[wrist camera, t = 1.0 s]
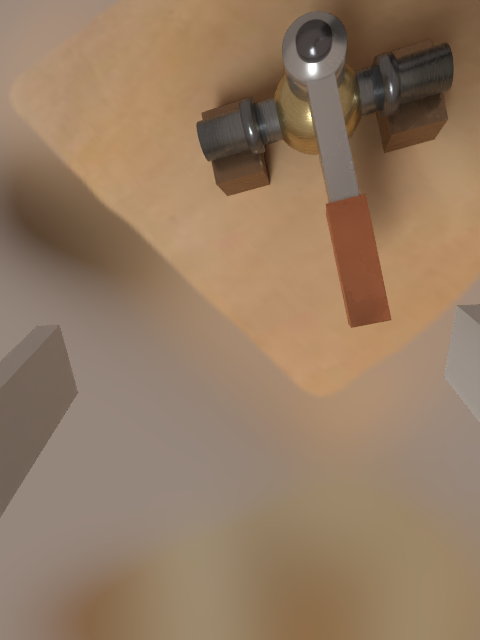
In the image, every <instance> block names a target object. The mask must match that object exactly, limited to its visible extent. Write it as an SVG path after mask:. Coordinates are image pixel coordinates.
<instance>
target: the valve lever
mask: <svg viewBox="0 0 480 640" xmlns="http://www.w3.org/2000/svg"><path fill="white" fill-rule="evenodd" d="M346 50H347V34H346V30H345V28H344V26H343V24H342V22H341V21H340V20H339V19H338V18H337V17H335V16H334V15H332V14H330V13H327V12H322V11H316V12H310V13H307V14H305V15H303V16H301V17H299V18H298V19H297V20H295V21H294V22H293V23H292V25H291V26H290V27H289V29H288V30H287V32H286V34H285V36H284V39H283V44H282V54H283V60H284V66H285V71H286V77H287V82H288V86H289V88H290V90H291V92H292V93H293V94H294V95H295V96H296V97H297V98H298V99H300V100H302V101H305V102H308V104H309V109H310V114H311V119H312V124H313V129H314V134H315V138H316V143H317V148H318V153H319V158H320V163H321V168H322V172H323V177H324V182H325V187H326V192H327V197H328V202H329V203H327V204H326V217H327V221H328V226H329V231H330V236H331V241H332V246H333V251H334V256H335V260H336V265H337V270H338V275H339V280H340V285H341V290H342V294H343V299H344V304H345V309H346V314H347V319H348V324H349V325H350V326H351V328H352V327H357V326H363V325H368V324H373V323H378V322H384V321H389V320H391V316H390V311H389V306H388V301H387V296H386V291H385V286H384V281H383V276H382V272H381V267H380V262H379V257H378V252H377V247H376V242H375V237H374V232H373V228H372V223H371V218H370V213H369V208H368V203H367V198H366V194H362V195H360V194H359V190H358V185H357V180H356V175H355V170H354V165H353V160H352V155H351V150H350V146H349V141H348V136H347V131H346V126H345V121H344V116H343V111H342V106H341V102H340V97H339V92H338V89H339V87H340V86H341V84H342V81H343V79H344V74H345V63H346Z"/></svg>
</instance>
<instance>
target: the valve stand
mask: <svg viewBox="0 0 480 640" xmlns="http://www.w3.org/2000/svg"><path fill="white" fill-rule="evenodd" d="M452 81H453V57H452V52H451V49H450V47H449V45H448V44H447V43H442V44H439V45H436V46H433V42H432V38H431V39H428V40H425V41H422V42H419V43H416V44H413V45H409V46H406V47H403V48H400V49H397V50H394V51H391V52H388V53H385V54H381V55H378V56H375V58H374V62H373V66H370V67H367V68H364V69H361V70H358V71H354V70H353V69H352V68H351V66H350V65H348V64H347V63H345V74H344V79H343V81H342V84H341V86H340V87H339V89H338V92H339V97H340V102H341V106H342V111H343V116H344V121H345V126H346V131H347V136H348V139H349V137H350V136H351V135H352V134H353V132H354V131H355V129H356V127H357V125H358V123H359V121H360V118H361V116H365V115H368V114H371V113H375V112H376V114H377V119H378V124H379V129H380V134H381V139H382V144H383V149H384V153H386V152H390V151H393V150H397V149H401V148H404V147H408V146H412V145H415V144H419V143H423V142H426V141H430V140H434V139H435V137H436V136H437V134H438V133H439V131H440V130H441V129H442V127H443V126H444V124H445V123H446V121H447V120H448V116H447V111H446V106H445V101H444V96H443V92H446V91H448V90H449V89H450V88H451V85H452ZM202 118H203V120H201V121H198V122H197V133H198V137H199V141H200V145H201V148H202V151H203V153H204V155H205V157H206V159H207V161H212V166H213V171H214V175H215V180H216V184H217V185H218V186H219V188H220V189H221V190H222V191H223V192H224V193H225V194H226V195H227V196H229V195H233V194H237V193H240V192H244V191H248V190H251V189H255V188H259V187H262V186H266V185H269V184H270V182H269V178H268V173H267V168H266V163H265V158H264V152H265V145H267V144H270V143H273V142H277V141H280V140H284V141H285V142H286V143H287V144H288V145H289V146H290V147H292V148H293V149H294V150H297V151H299V152H301V153H304V154H311V155H317V154H319V153H318V148H317V143H316V138H315V134H314V129H313V124H312V119H311V114H310V109H309V104H308V102H305V101H302V100H300V99H298V98H297V97H296V96H295V95H294V94H293V93H292V92H291V90H290V88H289V86H288V82H287V77H286V73H285V74H284V75H283V77H282V78H281V80H280V82H279V84H278V86H277V89H276V91H275V95H274V97H273V98H270V99H267V100H264V101H261V102H258V103H254V100H253V97H249V98H246V99H243V100H239V101H237V102H233V103H230V104H227V105H224V106H221V107H218V108H215V109H212V110H209V111H206V112H203V113H202Z"/></svg>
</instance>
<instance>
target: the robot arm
mask: <svg viewBox="0 0 480 640" xmlns="http://www.w3.org/2000/svg"><path fill="white" fill-rule="evenodd" d="M444 378H445V379H446V380H447V381H448V383H449V384H450V385H451V387H452V388H453V389H454V390H455V392H456V393H457V394H458V395H459V397H460V398H461V399H462V401H463V402H464V403H465V404H466V406H467V407H468V408H469V409H470V411H471V412H472V413H473V414H474V416H475V417H476V418H477V419H478V421H479V422H480V304H478V305H457V308H456V314H455V319H454V325H453V330H452V336H451V341H450V347H449V353H448V358H447V364H446V369H445V375H444ZM77 394H78V391H77V387H76V383H75V380H74V376H73V373H72V369H71V365H70V361H69V358H68V354H67V350H66V347H65V343H64V340H63V336H62V332H61V328H60V325H46V326H37V327H36V328H35V329H34V330H32V331H31V332H30V333H29V334H28V335H27V336H26V337H25V338H24V339H23V340H22V341H21V342H20V343H19V344H18V345H17V346H16V347H15V348H14V349H13V350H12V351H11V352H10V353H9V354H8V355H7V356H6V357H5V358H3V359H2V360H1V361H0V517H1V516H2V514H3V512H4V511H5V509H6V507H7V506H8V504H9V503H10V501H11V500H12V498H13V496H14V494H15V493H16V491H17V490H18V488H19V487H20V485H21V483H22V482H23V480H24V479H25V477H26V475H27V474H28V472H29V471H30V469H31V467H32V466H33V464H34V463H35V461H36V459H37V458H38V456H39V455H40V453H41V451H42V450H43V448H44V447H45V445H46V443H47V442H48V440H49V439H50V437H51V435H52V433H53V432H54V431H55V429H56V427H57V426H58V424H59V423H60V421H61V419H62V418H63V416H64V415H65V413H66V411H67V410H68V408H69V407H70V405H71V403H72V402H73V400H74V399H75V397H76V395H77Z"/></svg>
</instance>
